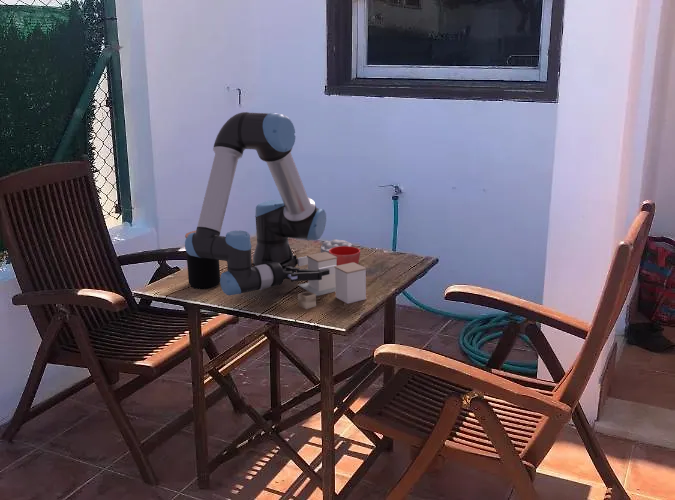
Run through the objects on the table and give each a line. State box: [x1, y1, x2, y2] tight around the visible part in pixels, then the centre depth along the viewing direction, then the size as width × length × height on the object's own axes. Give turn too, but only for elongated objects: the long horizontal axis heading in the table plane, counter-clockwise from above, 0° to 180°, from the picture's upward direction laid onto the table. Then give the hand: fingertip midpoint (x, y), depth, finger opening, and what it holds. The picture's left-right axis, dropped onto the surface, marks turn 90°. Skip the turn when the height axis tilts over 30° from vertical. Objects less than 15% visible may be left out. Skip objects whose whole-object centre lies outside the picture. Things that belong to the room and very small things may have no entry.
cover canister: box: [306, 252, 337, 291], centre depth 243 cm, size 7×7×10 cm
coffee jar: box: [184, 230, 221, 290], centre depth 246 cm, size 11×11×18 cm
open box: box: [297, 290, 317, 310], centre depth 228 cm, size 4×4×4 cm
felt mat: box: [298, 282, 336, 297], centre depth 244 cm, size 12×12×1 cm
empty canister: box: [334, 262, 367, 304], centre depth 233 cm, size 7×7×10 cm
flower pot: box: [329, 246, 361, 266], centre depth 253 cm, size 11×11×10 cm
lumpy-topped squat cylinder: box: [320, 238, 353, 253], centre depth 267 cm, size 10×13×9 cm
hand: (325, 263), depth 242 cm, fingers open, 13 cm apart
